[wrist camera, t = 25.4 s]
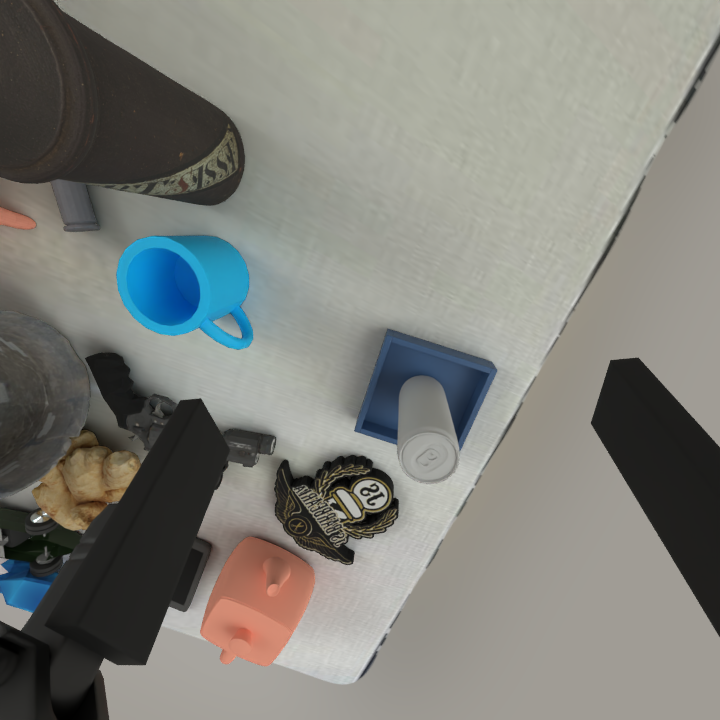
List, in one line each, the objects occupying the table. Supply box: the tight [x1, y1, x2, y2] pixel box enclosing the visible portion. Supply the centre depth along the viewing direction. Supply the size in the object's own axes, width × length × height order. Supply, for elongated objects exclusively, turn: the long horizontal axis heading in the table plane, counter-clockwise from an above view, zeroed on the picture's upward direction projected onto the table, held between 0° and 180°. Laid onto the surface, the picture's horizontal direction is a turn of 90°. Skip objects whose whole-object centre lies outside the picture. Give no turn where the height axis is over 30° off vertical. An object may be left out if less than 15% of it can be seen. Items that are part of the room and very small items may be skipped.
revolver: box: [85, 353, 276, 490], centre depth 43 cm, size 3×22×15 cm
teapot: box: [200, 537, 315, 666], centre depth 45 cm, size 12×18×10 cm, turn 152°
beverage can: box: [397, 375, 460, 484], centre depth 34 cm, size 5×5×12 cm
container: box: [0, 0, 245, 205], centre depth 25 cm, size 9×9×20 cm
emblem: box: [274, 455, 399, 565], centre depth 45 cm, size 16×2×15 cm
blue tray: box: [354, 329, 497, 451], centre depth 39 cm, size 11×11×2 cm
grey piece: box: [51, 179, 100, 232], centre depth 35 cm, size 11×3×3 cm
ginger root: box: [32, 430, 141, 531], centre depth 45 cm, size 16×16×8 cm
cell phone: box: [169, 538, 211, 612], centre depth 52 cm, size 7×14×1 cm, turn 157°
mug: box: [116, 235, 253, 350], centre depth 35 cm, size 12×8×8 cm
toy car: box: [0, 508, 82, 577], centre depth 51 cm, size 9×20×5 cm, turn 76°
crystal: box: [0, 559, 58, 613], centre depth 53 cm, size 7×9×12 cm
